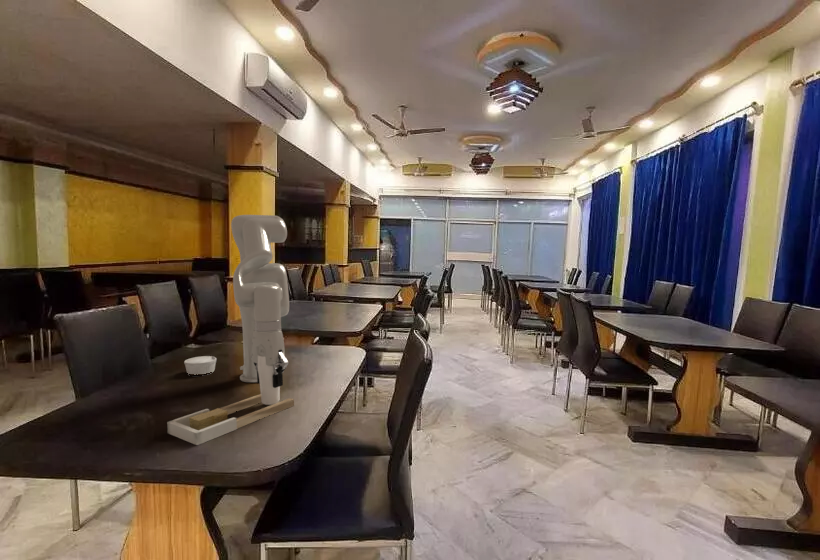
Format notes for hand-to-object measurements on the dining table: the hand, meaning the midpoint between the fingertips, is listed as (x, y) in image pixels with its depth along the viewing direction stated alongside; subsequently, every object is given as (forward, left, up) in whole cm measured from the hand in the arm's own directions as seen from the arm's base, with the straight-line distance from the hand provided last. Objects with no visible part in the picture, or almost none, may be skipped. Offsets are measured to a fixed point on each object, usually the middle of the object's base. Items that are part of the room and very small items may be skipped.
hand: (270, 384), depth 131 cm
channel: (0, -7, -7) cm, 9 cm away
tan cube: (0, -22, -7) cm, 23 cm away
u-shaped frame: (0, -22, -7) cm, 23 cm away
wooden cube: (0, -18, -7) cm, 19 cm away
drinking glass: (0, 0, -6) cm, 6 cm away
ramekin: (-52, +9, -7) cm, 53 cm away
